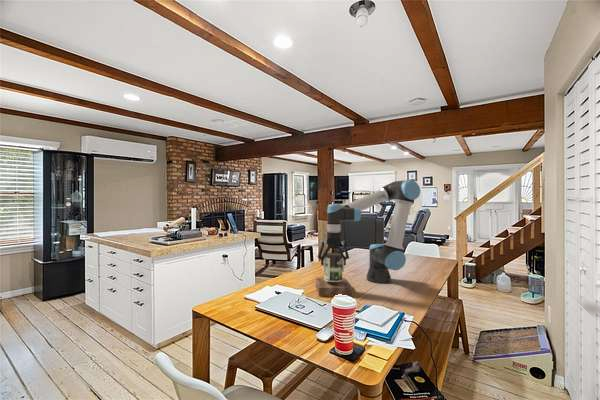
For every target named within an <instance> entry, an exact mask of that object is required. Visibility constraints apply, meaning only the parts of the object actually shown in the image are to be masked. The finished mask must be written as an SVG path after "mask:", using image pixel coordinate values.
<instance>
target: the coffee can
mask: <svg viewBox="0 0 600 400" xmlns="http://www.w3.org/2000/svg"><path fill="white" fill-rule="evenodd" d="M324 259H325V272H323V275H324V277H323V278H324V280H326V281H329V282H340V281H342V278H343V272H342V259H343V255H341V254H340V253H337V252H329V253H327V254H326V255H325V258H324Z"/></svg>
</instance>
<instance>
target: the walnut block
mask: <svg viewBox="0 0 600 400" xmlns="http://www.w3.org/2000/svg"><path fill="white" fill-rule="evenodd" d="M314 286H315V289H316V291H317V295H318V297H336V296H335V295H338V294H342V295H348V296H347V297H353V286H352V284H351V283H350V282H349V281H348V279H347V278H345V277H342V281H340V282H329V281H326V280H324V277H315V285H314Z"/></svg>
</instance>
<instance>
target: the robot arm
mask: <svg viewBox="0 0 600 400" xmlns="http://www.w3.org/2000/svg"><path fill="white" fill-rule="evenodd" d="M420 195H421V187H420V185H419V183H418V182H417V181H415V180H412V179H404V180H397V181H393V182H390V183H388V184H386V185H384V186H381V187H379V188H378V190H377V191H373V192H371V193H370V194H367V195H365V196H363V197H360V198H358V199H355V200H353V201H351V202H349V203H346V204H344V205H341V204H338V203H337V204H332V203H330V204H328V205H327V213H326V214H327V215H326V216H327V218H326V219H327V220H326V221H327V222H326V223H327V224H326V225H327V227H326V231H327V232H326V240H321V242H320V243H321V246H320V248H319V251H318V256H317V258H318V259H320V265H321V266H322V271H323V273H324V272H325V255H326V254H327V253H328V252H329V250H331V249H338V252H339V254H341V255H343V258H342V273H344V272H345V270H344V269H345V266H346V265H347V260H349V259H350V256H349V251H348V249H347V241H345V240H341V238H342V237H341V235H342V234H341V229H342V228H341V226H342V225H341V224H342V222H359V221H360V220H361V219H362V211H365V210H367V209H369V208H371V207H374V206H375V205H378V204H380V203H383V202H389V201H394V204H395V205H394V210H393V214H392V219H391V222H390V227H389V231H388V237H387V241H386V242H385V243H375V244H374V243H373V244H370V245H369V250H368V251H369V265H368V270H367V273H366V280H367V281H369V282H371V283H377V284H388V283H391V281H392V277H391V274H390V270H391V271H399V270H401V269H403V268H404V266H405V264H406V262H407V261H406V260H407V258H406V255H405V253H404V250H405V248H404V247H403V243H404V237H405V234H406V228H407V223H408V218H409V214H410V209H411V207H412V206H414V203H415V200H417V199H418V198H419V197H420ZM325 245H327V247H326V249H324V247H325ZM340 245H342V248H343V250H344V252H343V251H342V249H341V247H340ZM344 253H345V255H344Z"/></svg>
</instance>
